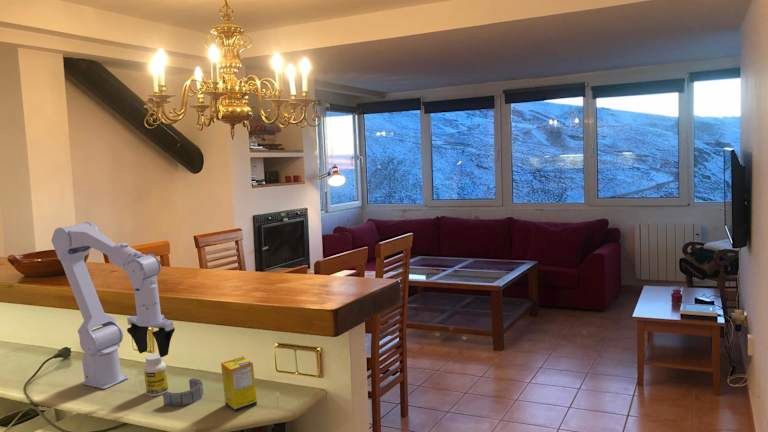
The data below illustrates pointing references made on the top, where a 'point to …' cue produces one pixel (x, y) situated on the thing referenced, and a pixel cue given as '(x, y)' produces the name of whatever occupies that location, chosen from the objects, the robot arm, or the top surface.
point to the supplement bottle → (155, 375)
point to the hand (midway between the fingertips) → (153, 353)
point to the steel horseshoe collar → (185, 395)
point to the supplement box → (239, 383)
